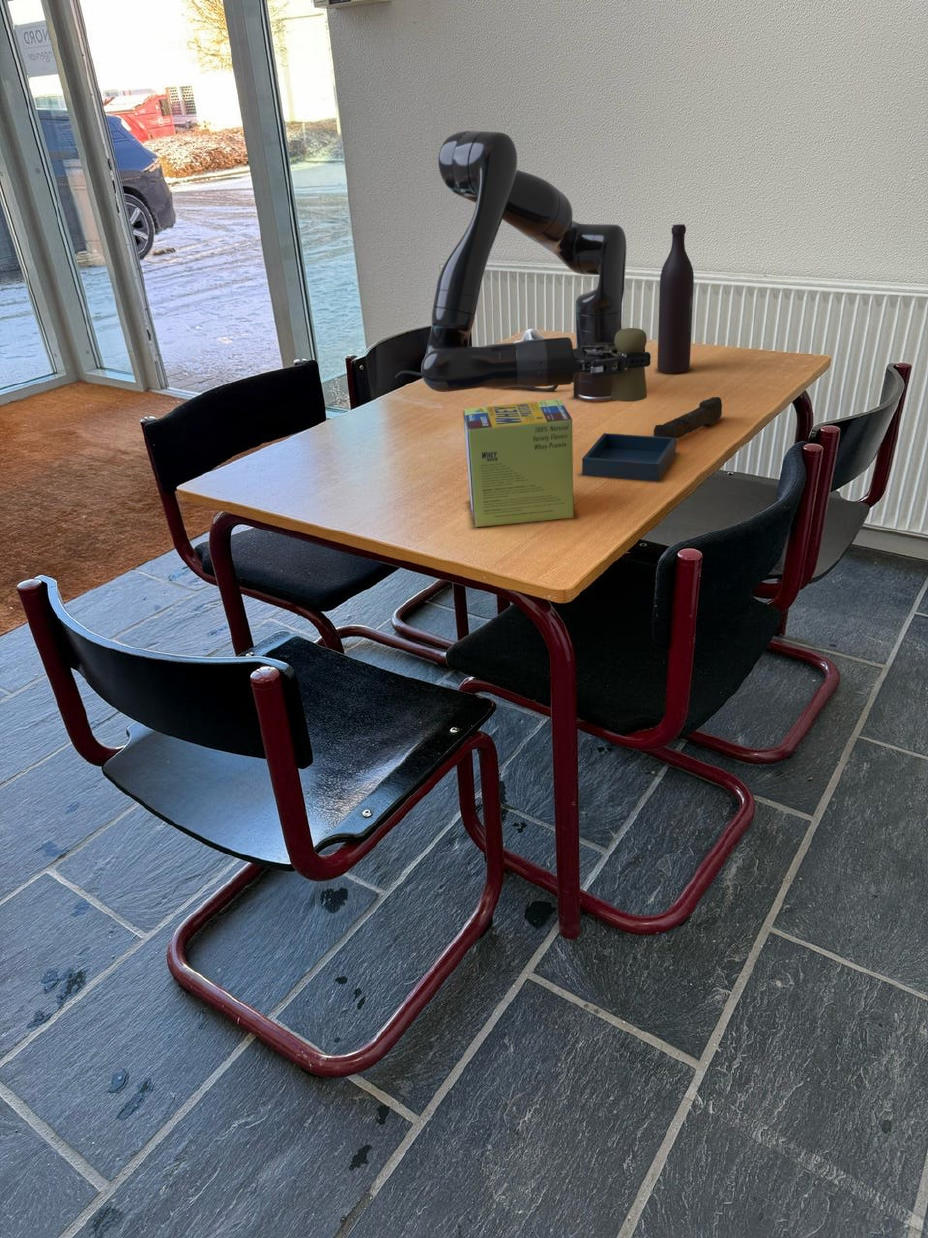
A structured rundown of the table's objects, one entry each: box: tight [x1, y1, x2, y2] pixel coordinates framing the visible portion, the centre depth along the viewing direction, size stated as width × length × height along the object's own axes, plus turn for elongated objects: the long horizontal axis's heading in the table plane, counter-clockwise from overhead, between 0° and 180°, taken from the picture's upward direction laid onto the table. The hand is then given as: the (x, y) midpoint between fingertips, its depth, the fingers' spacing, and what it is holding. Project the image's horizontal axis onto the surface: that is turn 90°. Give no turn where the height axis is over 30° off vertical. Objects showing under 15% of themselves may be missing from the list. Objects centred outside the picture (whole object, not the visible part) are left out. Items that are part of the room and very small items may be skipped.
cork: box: [611, 327, 648, 403], centre depth 149 cm, size 6×6×11 cm
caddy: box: [581, 432, 677, 482], centre depth 154 cm, size 13×13×3 cm
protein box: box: [462, 398, 575, 528], centre depth 138 cm, size 10×15×16 cm
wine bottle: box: [656, 223, 695, 375], centre depth 195 cm, size 7×7×30 cm
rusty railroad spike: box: [653, 396, 723, 440], centre depth 165 cm, size 19×4×5 cm, turn 131°
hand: (646, 355), depth 149 cm, fingers closed on cork, 4 cm apart
